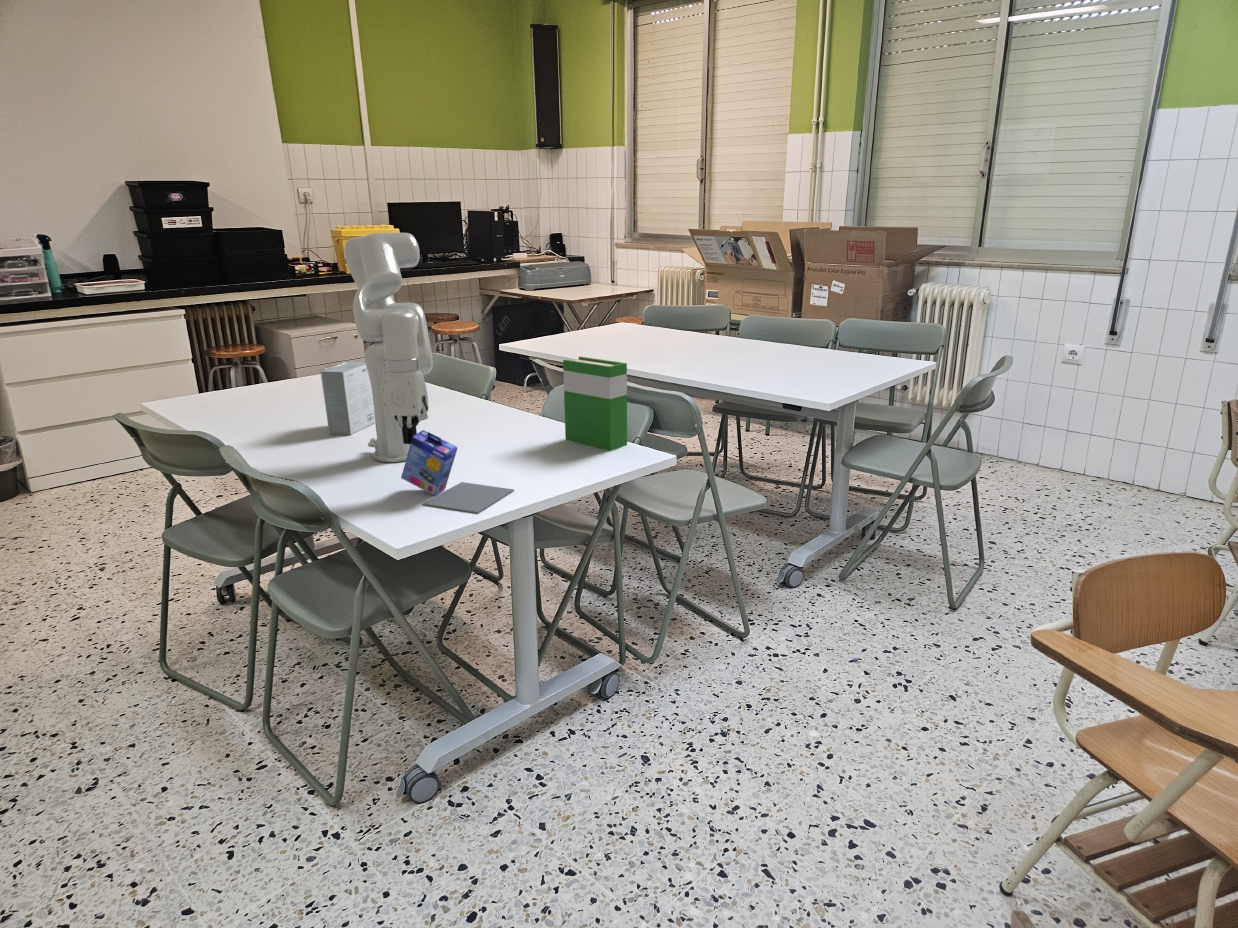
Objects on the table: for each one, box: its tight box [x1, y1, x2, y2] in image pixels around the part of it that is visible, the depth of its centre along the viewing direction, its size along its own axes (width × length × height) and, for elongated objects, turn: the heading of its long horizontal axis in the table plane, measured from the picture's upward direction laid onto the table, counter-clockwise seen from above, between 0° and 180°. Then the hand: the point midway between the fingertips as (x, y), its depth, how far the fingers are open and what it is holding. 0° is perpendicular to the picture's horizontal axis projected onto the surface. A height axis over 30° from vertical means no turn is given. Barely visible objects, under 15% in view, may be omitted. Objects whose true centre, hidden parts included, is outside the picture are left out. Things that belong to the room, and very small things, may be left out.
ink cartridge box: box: [400, 429, 458, 496], centre depth 181 cm, size 10×6×14 cm, turn 75°
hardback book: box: [562, 356, 628, 452], centre depth 220 cm, size 18×7×24 cm, turn 50°
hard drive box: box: [320, 361, 375, 436], centre depth 237 cm, size 16×8×20 cm, turn 168°
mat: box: [422, 481, 515, 515], centre depth 180 cm, size 15×16×1 cm
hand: (410, 442), depth 181 cm, fingers closed
